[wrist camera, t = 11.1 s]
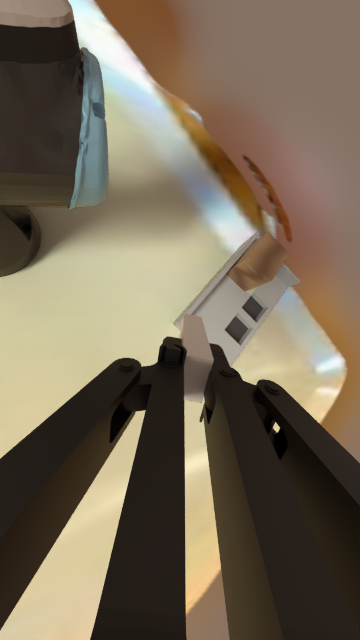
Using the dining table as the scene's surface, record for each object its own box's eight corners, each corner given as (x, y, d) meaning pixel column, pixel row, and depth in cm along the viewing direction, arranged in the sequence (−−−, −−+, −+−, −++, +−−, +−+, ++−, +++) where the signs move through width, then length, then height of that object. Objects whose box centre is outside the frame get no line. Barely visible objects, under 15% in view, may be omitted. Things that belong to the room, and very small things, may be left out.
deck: (172, 323, 37) (178, 321, 32) (242, 244, 43) (256, 232, 38) (222, 369, 39) (235, 374, 34) (282, 287, 45) (300, 281, 40)
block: (225, 273, 39) (248, 257, 31) (241, 251, 41) (267, 231, 33) (244, 291, 40) (271, 280, 32) (260, 269, 42) (289, 254, 34)
